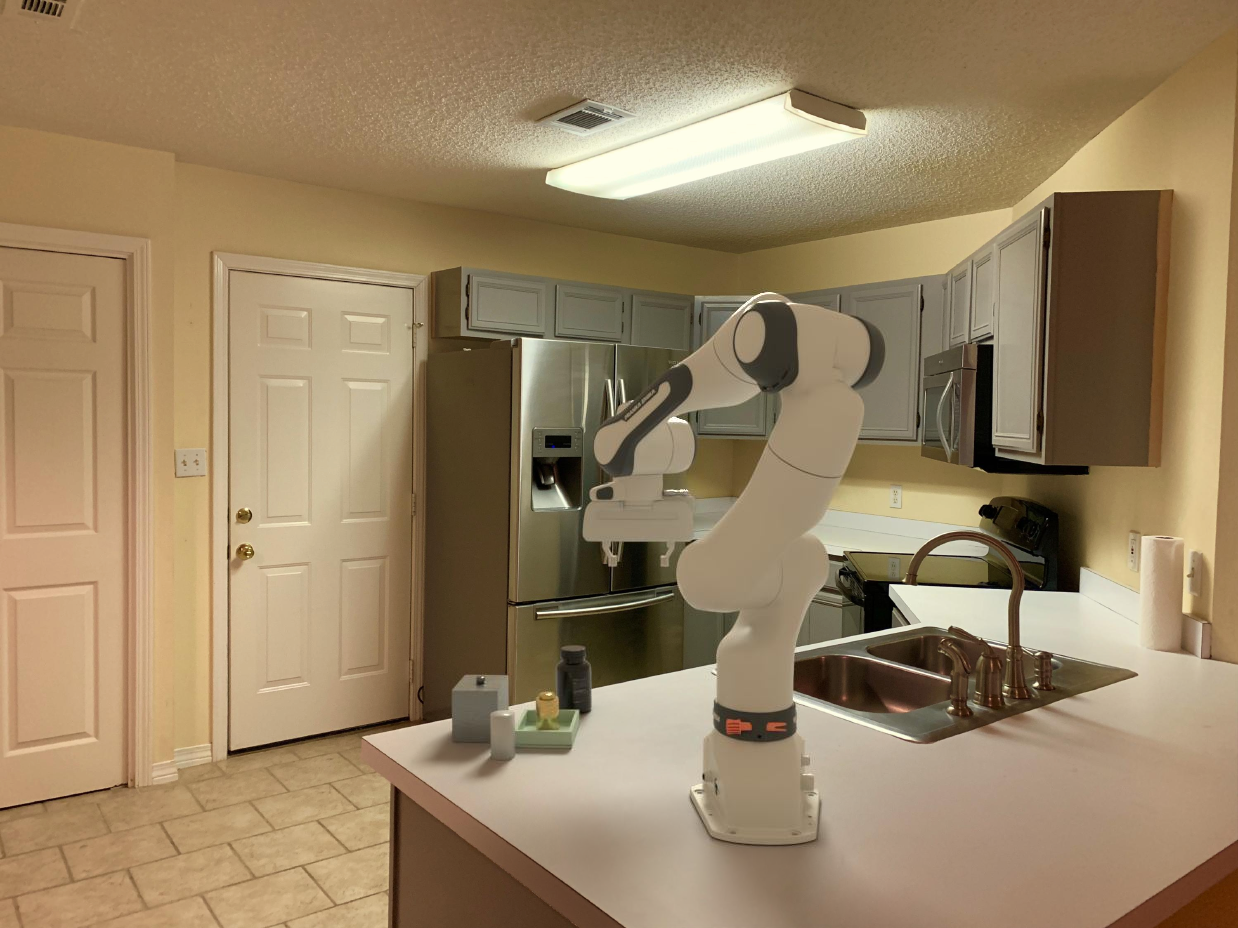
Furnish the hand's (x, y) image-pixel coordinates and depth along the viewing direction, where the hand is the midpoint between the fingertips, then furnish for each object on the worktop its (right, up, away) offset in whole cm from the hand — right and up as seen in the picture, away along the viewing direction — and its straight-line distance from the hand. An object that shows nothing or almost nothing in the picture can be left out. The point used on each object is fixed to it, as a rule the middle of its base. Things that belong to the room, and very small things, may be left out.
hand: (638, 565), depth 164 cm
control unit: (-28, -29, -3) cm, 41 cm away
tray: (-16, -29, -5) cm, 34 cm away
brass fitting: (-16, -29, -5) cm, 33 cm away
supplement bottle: (-12, -29, +10) cm, 33 cm away
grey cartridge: (-23, -30, -15) cm, 40 cm away
